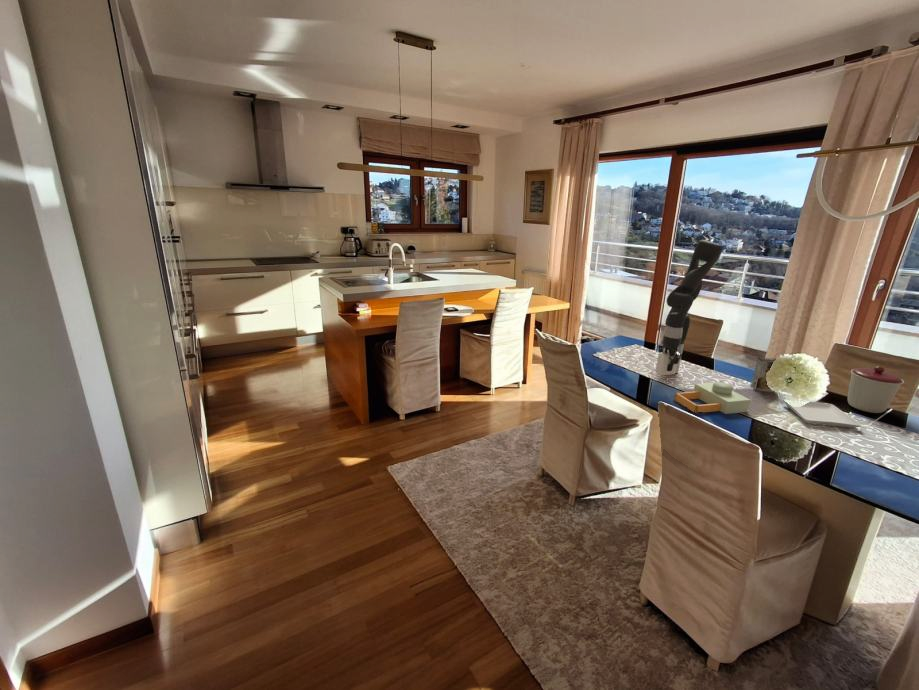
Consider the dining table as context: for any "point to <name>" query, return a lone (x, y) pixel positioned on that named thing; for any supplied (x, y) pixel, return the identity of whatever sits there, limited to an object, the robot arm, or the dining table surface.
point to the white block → (664, 365)
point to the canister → (872, 389)
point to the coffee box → (762, 374)
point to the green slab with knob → (714, 398)
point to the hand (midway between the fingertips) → (665, 368)
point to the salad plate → (823, 414)
